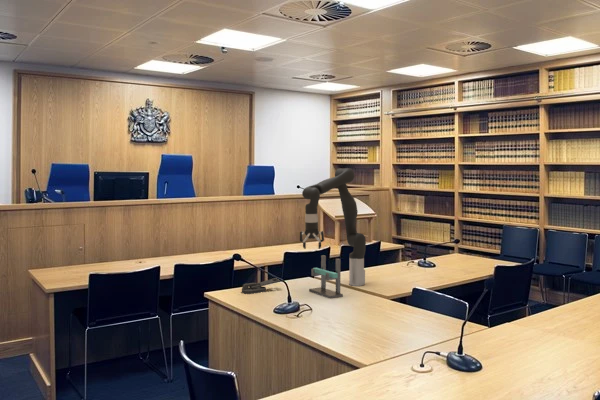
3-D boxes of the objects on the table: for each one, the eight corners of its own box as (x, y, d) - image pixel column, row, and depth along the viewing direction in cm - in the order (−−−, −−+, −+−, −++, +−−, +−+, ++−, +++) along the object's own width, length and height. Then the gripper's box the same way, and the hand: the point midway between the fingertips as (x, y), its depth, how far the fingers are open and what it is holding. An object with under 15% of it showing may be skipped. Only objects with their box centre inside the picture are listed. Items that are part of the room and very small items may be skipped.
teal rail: (316, 271, 323) (316, 267, 323) (337, 277, 304) (337, 273, 304) (313, 271, 322) (313, 268, 321) (334, 278, 303) (334, 273, 303)
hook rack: (321, 289, 325) (321, 254, 324) (342, 296, 307) (343, 259, 306) (309, 291, 321) (309, 255, 320) (330, 298, 302) (330, 261, 301)
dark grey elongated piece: (283, 279, 323) (245, 283, 312) (283, 290, 323) (245, 294, 312) (277, 277, 331) (239, 280, 320) (277, 287, 331) (239, 291, 320)
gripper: (324, 220, 315) (324, 247, 316) (300, 220, 317) (301, 247, 318) (322, 222, 307) (323, 249, 308) (298, 222, 309) (299, 249, 310)
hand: (312, 248), depth 313 cm, fingers open, 8 cm apart
